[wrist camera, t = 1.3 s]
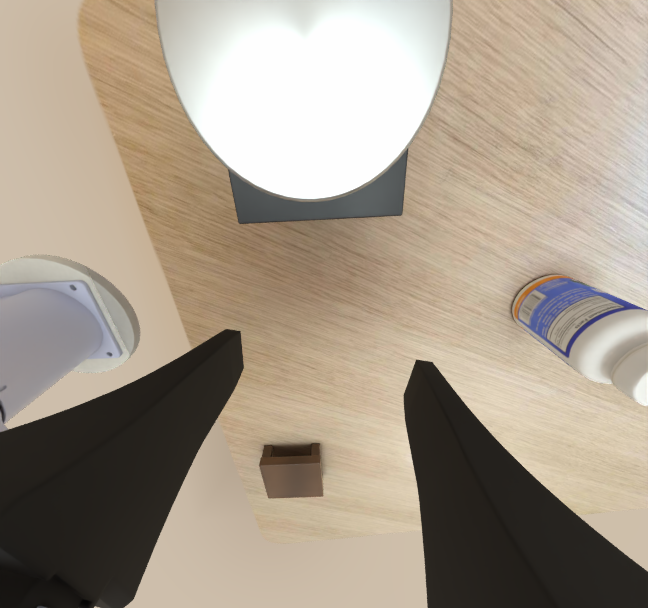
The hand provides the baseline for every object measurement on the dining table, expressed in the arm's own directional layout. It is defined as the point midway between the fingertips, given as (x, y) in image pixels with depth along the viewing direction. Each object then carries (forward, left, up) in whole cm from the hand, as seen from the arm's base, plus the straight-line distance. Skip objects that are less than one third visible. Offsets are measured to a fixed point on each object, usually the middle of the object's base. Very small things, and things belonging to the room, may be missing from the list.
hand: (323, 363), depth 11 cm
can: (0, +9, -5) cm, 10 cm away
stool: (-5, -26, -12) cm, 29 cm away
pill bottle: (+19, -4, -12) cm, 23 cm away
